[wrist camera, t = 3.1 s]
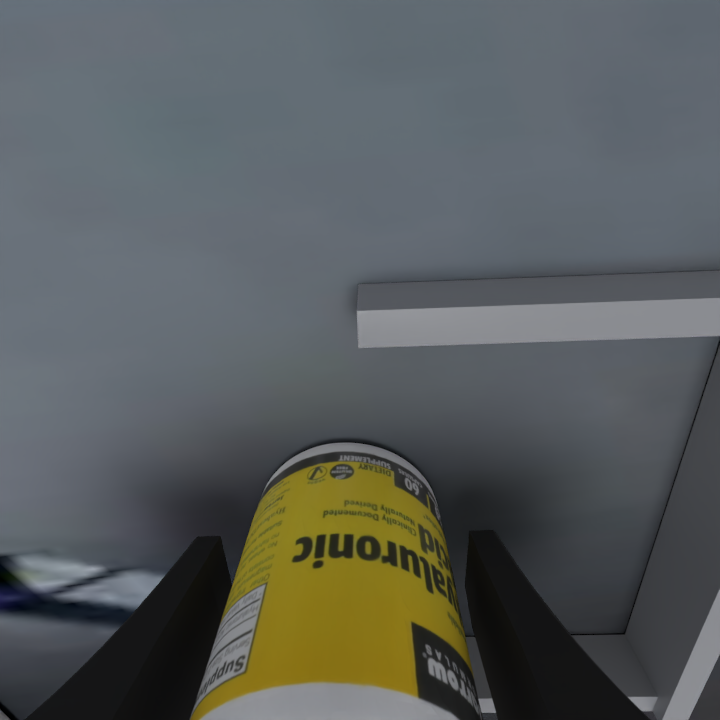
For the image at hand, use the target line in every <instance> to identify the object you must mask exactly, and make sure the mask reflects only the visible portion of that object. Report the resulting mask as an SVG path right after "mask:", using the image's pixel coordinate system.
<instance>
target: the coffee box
mask: <svg viewBox="0 0 720 720" xmlns="http://www.w3.org/2000/svg"><path fill="white" fill-rule="evenodd" d="M0 720H11V719H9V718H8V717H7V716H6V715H5V714H4V713H3V712H2V711H1V710H0Z"/></svg>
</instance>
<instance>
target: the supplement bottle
mask: <svg viewBox="0 0 720 720" xmlns="http://www.w3.org/2000/svg"><path fill="white" fill-rule="evenodd" d="M190 720H483V717H482V712H481V708H480V704H479V700H478V695H477V690H476V686H475V681H474V676H473V671H472V666H471V662H470V657H469V652H468V647H467V642H466V637H465V632H464V627H463V622H462V618H461V613H460V609H459V603H458V599H457V594H456V587H455V583H454V578H453V572H452V568H451V564H450V559H449V554H448V550H447V545H446V540H445V534H444V529H443V524H442V520H441V517H440V513H439V509H438V505H437V502H436V498H435V496H434V494H433V491H432V489H431V487H430V485H429V484H428V482H427V481H426V479H425V478H424V477H423V475H422V474H421V473H420V472H419V471H418V470H417V469H416V468H415V467H414V466H413V465H411V464H410V463H409V462H407V461H406V460H404V459H403V458H401V457H400V456H398V455H396V454H394V453H392V452H390V451H387V450H385V449H382V448H379V447H375V446H372V445H366V444H360V443H331V444H325V445H321V446H317V447H314V448H311V449H308V450H306V451H304V452H301V453H300V454H298V455H296V456H294V457H293V458H291V459H290V460H288V461H287V462H286V463H285V464H284V465H282V466H281V467H280V468H279V469H278V470H277V471H276V472H275V473H274V474H273V476H272V477H271V479H270V480H269V482H268V483H267V485H266V487H265V489H264V491H263V493H262V496H261V499H260V501H259V503H258V506H257V509H256V513H255V515H254V518H253V521H252V524H251V527H250V530H249V534H248V537H247V539H246V543H245V546H244V549H243V553H242V556H241V559H240V562H239V566H238V568H237V571H236V575H235V579H234V582H233V585H232V588H231V591H230V593H229V597H228V600H227V603H226V606H225V609H224V612H223V616H222V619H221V623H220V626H219V629H218V632H217V635H216V639H215V642H214V645H213V648H212V651H211V654H210V658H209V661H208V664H207V667H206V670H205V674H204V677H203V680H202V683H201V686H200V689H199V692H198V696H197V699H196V702H195V705H194V708H193V711H192V714H191V717H190Z"/></svg>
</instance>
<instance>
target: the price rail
mask: <svg viewBox="0 0 720 720" xmlns="http://www.w3.org/2000/svg"><path fill="white" fill-rule="evenodd" d="M357 327H358V348H377V347H406V346H436V345H466V344H495V343H525V342H555V341H584V340H614V339H644V338H673V337H703V336H720V270H717V271H691V272H664V273H638V274H611V275H585V276H558V277H532V278H506V279H479V280H453V281H426V282H400V283H373V284H358V298H357ZM571 636H572V637H573V638H574V639H575V640H576V641H577V643H578V644H579V645H580V646H581V647H582V648H583V650H584V651H585V652H586V653H587V654H588V655H589V656H590V658H591V659H592V660H593V661H594V662H595V663H596V664H597V665H598V666H599V667H600V669H601V670H602V671H603V672H604V673H605V674H606V675H607V676H608V677H609V678H610V679H611V680H612V681H613V682H614V683H615V685H616V686H617V687H618V688H619V689H620V690H621V691H622V692H623V693H624V694H625V695H626V696H627V697H628V698H629V699H630V700H631V701H632V702H633V703H634V704H635V705H636V706H637V707H638V708H639V709H640V710H641V711H653V713H654V715H655V717H656V719H657V720H688V719H689V717H690V715H691V713H692V711H693V709H694V707H695V704H696V702H697V700H698V698H699V696H700V694H701V692H702V690H703V688H704V686H705V684H706V682H707V680H708V677H709V675H710V673H711V671H712V669H713V667H714V665H715V663H716V661H717V659H718V657H719V655H720V345H719V348H718V351H717V354H716V357H715V361H714V364H713V367H712V370H711V373H710V376H709V379H708V382H707V385H706V388H705V391H704V394H703V397H702V400H701V403H700V406H699V409H698V412H697V416H696V419H695V422H694V425H693V428H692V431H691V434H690V437H689V440H688V443H687V446H686V449H685V452H684V455H683V458H682V461H681V464H680V467H679V471H678V474H677V477H676V480H675V483H674V486H673V489H672V492H671V495H670V498H669V501H668V504H667V507H666V510H665V513H664V516H663V519H662V522H661V526H660V529H659V532H658V535H657V538H656V541H655V544H654V547H653V550H652V553H651V556H650V559H649V562H648V565H647V568H646V571H645V574H644V577H643V581H642V584H641V587H640V590H639V593H638V596H637V599H636V602H635V605H634V608H633V611H632V614H631V617H630V620H629V623H628V626H627V629H626V633H625V635H571ZM466 642H467V647H468V652H469V657H470V662H471V666H472V671H473V676H474V681H475V686H476V690H477V695H478V700H479V704H480V708H481V712H482V713H496V710H495V707H494V703H493V700H492V696H491V692H490V689H489V685H488V682H487V678H486V675H485V671H484V668H483V664H482V660H481V657H480V653H479V650H478V646H477V642H476V639H475V637H466Z"/></svg>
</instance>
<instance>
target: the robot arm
mask: <svg viewBox="0 0 720 720" xmlns="http://www.w3.org/2000/svg"><path fill="white" fill-rule="evenodd" d="M231 588H232V583H231V579H230V575H229V570H228V566H227V562H226V558H225V553H224V549H223V545H222V541H221V537H220V536H205V537H197V538H196V539H195V540H194V541H193V542H192V544H191V545H190V546H189V547H188V549H187V550H186V551H185V552H184V553H183V555H182V556H181V557H180V558H179V560H178V561H177V562H176V563H175V564H174V566H173V567H172V568H171V569H170V571H169V572H168V573H167V574H166V575H165V577H164V578H163V579H162V580H161V581H160V583H159V584H158V585H157V586H156V587H155V588H154V590H153V591H152V592H151V593H150V594H149V595H148V597H147V598H146V599H145V600H144V601H143V602H142V604H141V605H140V606H139V607H138V608H137V609H136V610H135V612H134V613H133V614H132V615H131V616H130V617H129V618H128V619H127V620H126V622H125V623H124V624H123V625H122V626H121V627H120V628H119V629H118V630H117V631H116V632H115V633H114V634H113V635H112V637H111V638H110V639H109V640H108V641H107V642H106V643H105V644H104V645H103V646H102V647H101V648H100V649H99V650H98V651H97V652H96V653H95V654H94V655H93V656H92V657H91V658H90V659H89V660H88V661H87V662H86V663H85V664H84V665H83V666H82V667H81V668H80V669H79V670H78V671H77V672H76V673H75V674H74V675H73V676H72V677H71V678H70V679H69V680H68V681H67V682H66V683H65V684H64V685H63V686H62V687H61V688H60V689H58V690H57V691H56V692H55V693H54V694H53V695H52V696H51V697H50V698H49V699H47V700H46V701H45V702H44V703H43V704H42V705H41V706H40V707H39V708H37V709H36V710H35V711H34V712H33V713H32V714H31V715H30V716H28V717H27V718H26V719H25V720H190V717H191V714H192V711H193V708H194V705H195V702H196V699H197V696H198V692H199V689H200V686H201V683H202V680H203V677H204V674H205V670H206V667H207V664H208V661H209V658H210V654H211V651H212V648H213V645H214V642H215V639H216V635H217V632H218V629H219V626H220V623H221V619H222V616H223V612H224V609H225V606H226V603H227V600H228V597H229V593H230V591H231ZM465 588H466V594H467V600H468V606H469V612H470V617H471V623H472V628H473V631H474V635H475V639H476V642H477V646H478V650H479V653H480V657H481V660H482V664H483V668H484V671H485V675H486V678H487V682H488V685H489V689H490V692H491V696H492V700H493V703H494V707H495V710H496V714H497V717H498V720H650V719H649V718H648V717H647V716H646V715H645V714H644V713H643V712H642V711H641V710H640V709H639V708H638V707H637V706H636V705H635V704H634V703H633V702H632V701H631V700H630V699H629V698H628V697H627V696H626V695H625V694H624V693H623V692H622V691H621V690H620V689H619V688H618V687H617V686H616V685H615V683H614V682H613V681H612V680H611V679H610V678H609V677H608V676H607V675H606V674H605V673H604V672H603V671H602V670H601V669H600V667H599V666H598V665H597V664H596V663H595V662H594V661H593V660H592V659H591V658H590V656H589V655H588V654H587V653H586V652H585V651H584V650H583V648H582V647H581V646H580V645H579V644H578V643H577V641H576V640H575V639H574V638H573V637H572V636H571V634H570V633H569V632H568V631H567V630H566V628H565V627H564V626H563V625H562V624H561V622H560V621H559V620H558V619H557V617H556V616H555V615H554V614H553V612H552V611H551V610H550V608H549V607H548V606H547V605H546V603H545V602H544V601H543V599H542V598H541V597H540V595H539V594H538V593H537V591H536V590H535V589H534V588H533V586H532V585H531V583H530V582H529V581H528V579H527V578H526V577H525V575H524V574H523V572H522V571H521V569H520V568H519V567H518V565H517V564H516V562H515V561H514V559H513V558H512V556H511V555H510V553H509V552H508V550H507V549H506V547H505V546H504V544H503V543H502V541H501V540H500V538H499V536H498V535H497V533H496V532H494V531H493V530H480V531H469V543H468V555H467V567H466V578H465Z"/></svg>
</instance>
